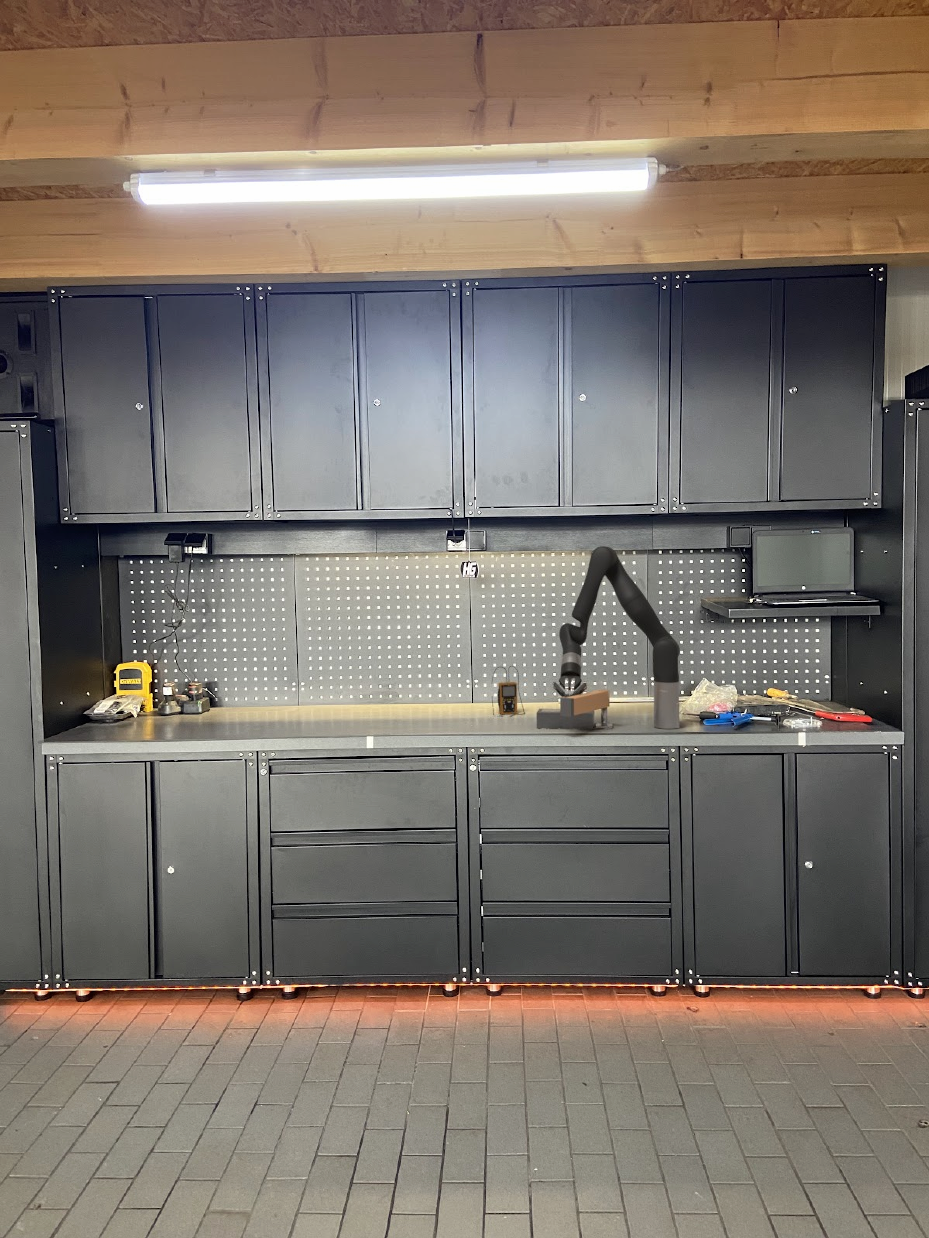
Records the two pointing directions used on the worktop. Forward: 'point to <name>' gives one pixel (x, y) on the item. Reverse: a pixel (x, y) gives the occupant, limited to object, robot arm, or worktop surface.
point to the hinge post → (604, 720)
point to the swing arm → (584, 703)
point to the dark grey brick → (564, 720)
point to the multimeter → (507, 696)
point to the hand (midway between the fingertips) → (568, 704)
